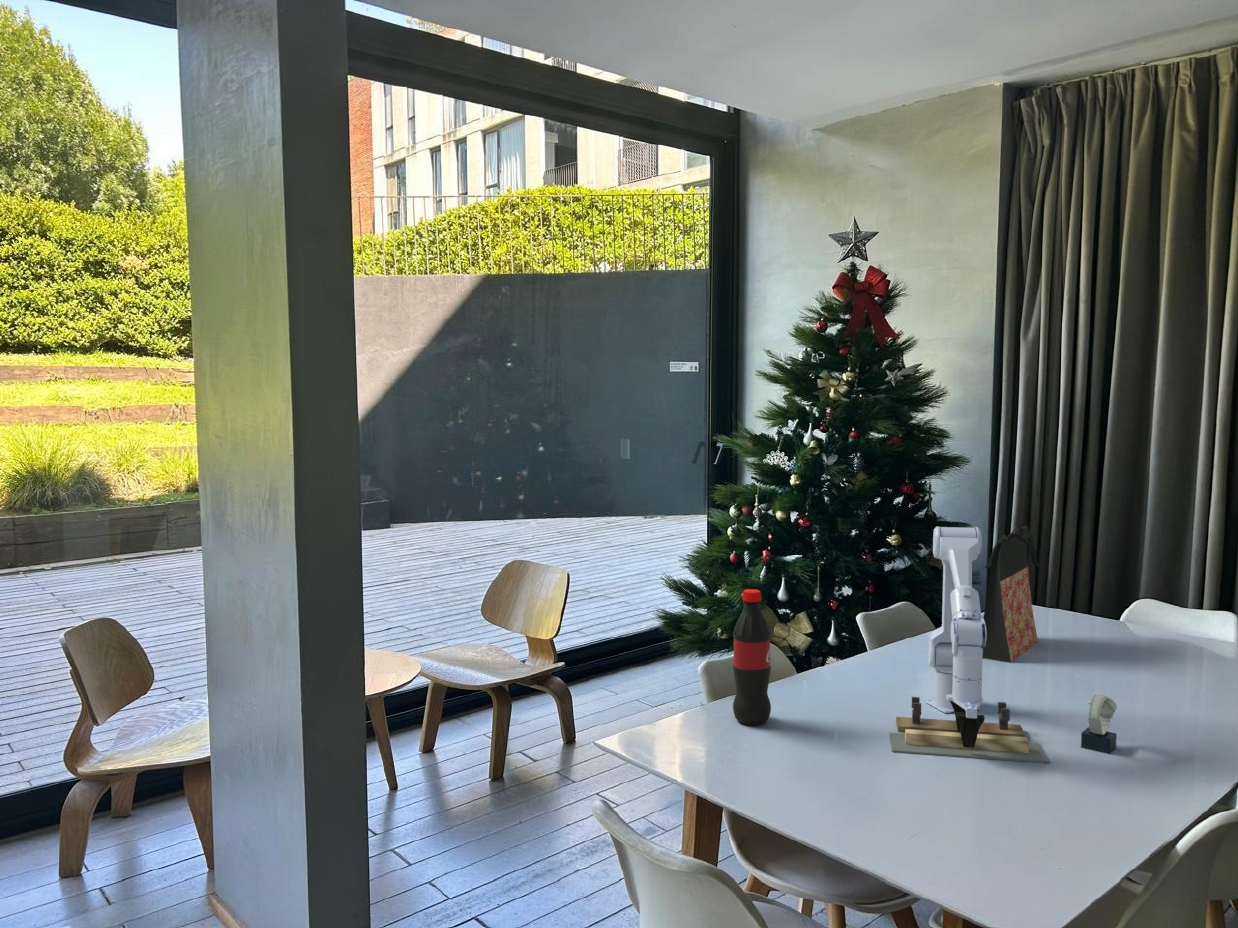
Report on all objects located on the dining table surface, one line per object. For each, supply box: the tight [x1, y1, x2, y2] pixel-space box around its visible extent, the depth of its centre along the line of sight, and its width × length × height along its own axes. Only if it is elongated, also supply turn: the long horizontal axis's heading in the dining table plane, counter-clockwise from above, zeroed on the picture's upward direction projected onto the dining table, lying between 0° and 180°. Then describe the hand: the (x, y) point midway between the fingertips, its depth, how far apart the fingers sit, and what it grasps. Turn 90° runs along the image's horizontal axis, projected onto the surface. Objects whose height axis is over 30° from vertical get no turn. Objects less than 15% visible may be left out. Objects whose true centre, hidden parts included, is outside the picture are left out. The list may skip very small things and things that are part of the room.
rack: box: [895, 696, 1027, 737], centre depth 205 cm, size 26×6×6 cm, turn 77°
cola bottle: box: [732, 588, 772, 726], centre depth 212 cm, size 8×8×30 cm
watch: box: [1080, 694, 1118, 755], centre depth 195 cm, size 6×8×11 cm
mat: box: [888, 732, 1050, 764], centre depth 196 cm, size 30×10×1 cm, turn 77°
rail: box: [904, 729, 1030, 753], centre depth 196 cm, size 24×2×2 cm, turn 77°
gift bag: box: [981, 525, 1040, 664], centre depth 267 cm, size 29×14×35 cm, turn 141°
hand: (965, 740), depth 196 cm, fingers open, 7 cm apart
